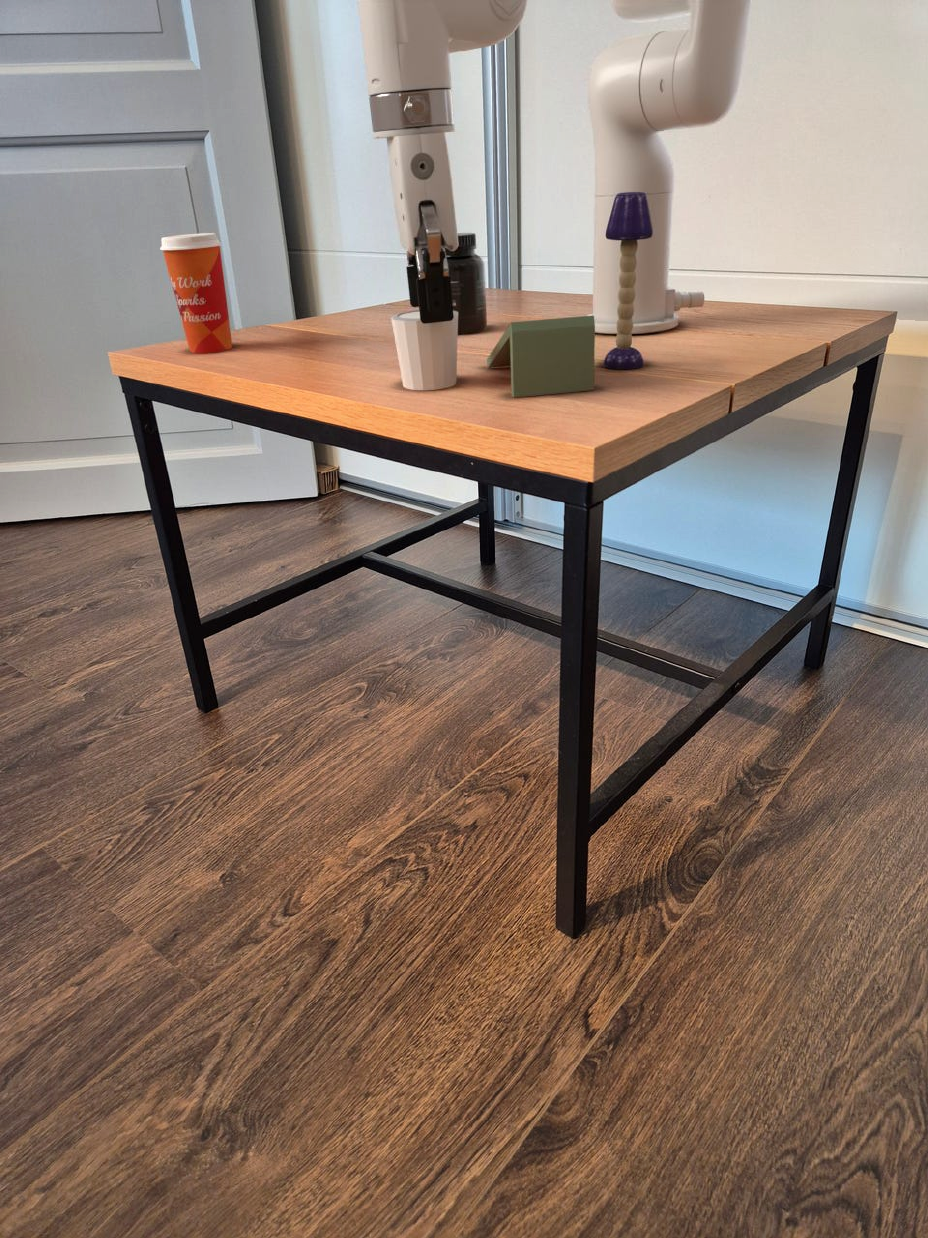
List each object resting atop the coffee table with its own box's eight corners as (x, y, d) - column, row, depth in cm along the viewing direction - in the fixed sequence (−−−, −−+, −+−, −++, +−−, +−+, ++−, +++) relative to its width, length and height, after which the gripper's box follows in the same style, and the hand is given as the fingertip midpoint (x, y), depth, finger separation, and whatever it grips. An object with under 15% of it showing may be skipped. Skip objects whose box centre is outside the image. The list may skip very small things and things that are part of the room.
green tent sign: (487, 367, 93) (484, 301, 90) (557, 361, 94) (556, 296, 90) (513, 397, 80) (511, 323, 77) (593, 390, 81) (595, 315, 78)
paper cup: (169, 354, 111) (144, 239, 104) (204, 342, 117) (182, 233, 110) (219, 355, 108) (196, 237, 101) (252, 343, 114) (232, 231, 108)
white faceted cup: (454, 391, 84) (450, 318, 80) (389, 392, 85) (382, 320, 82) (468, 375, 90) (464, 307, 86) (407, 376, 91) (401, 308, 88)
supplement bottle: (428, 333, 113) (421, 237, 108) (453, 324, 119) (447, 232, 113) (472, 335, 110) (467, 236, 105) (495, 326, 116) (492, 231, 110)
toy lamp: (655, 365, 89) (664, 190, 81) (622, 373, 87) (629, 193, 79) (624, 359, 93) (630, 190, 85) (592, 366, 91) (595, 194, 82)
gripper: (468, 109, 69) (482, 324, 78) (440, 116, 84) (455, 296, 92) (378, 117, 68) (402, 333, 77) (366, 123, 83) (387, 303, 92)
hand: (431, 313), depth 85 cm, fingers open, 9 cm apart
